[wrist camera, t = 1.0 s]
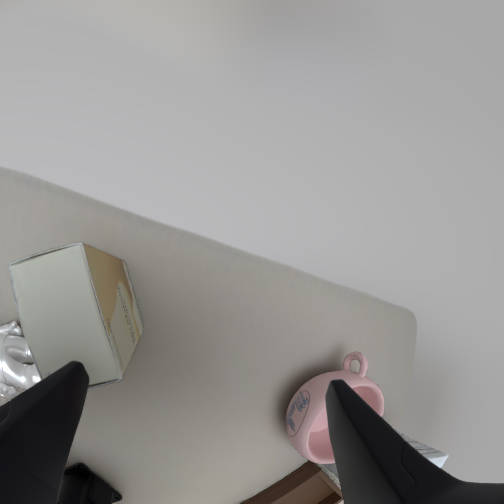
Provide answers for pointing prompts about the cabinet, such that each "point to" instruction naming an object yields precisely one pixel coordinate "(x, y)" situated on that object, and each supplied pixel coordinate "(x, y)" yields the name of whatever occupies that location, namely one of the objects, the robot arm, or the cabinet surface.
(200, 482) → the cabinet surface
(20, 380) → the figurine
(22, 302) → the cosmetic box
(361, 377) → the mug
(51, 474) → the robot arm
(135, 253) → the cabinet surface
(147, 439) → the cabinet surface
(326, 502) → the tray
